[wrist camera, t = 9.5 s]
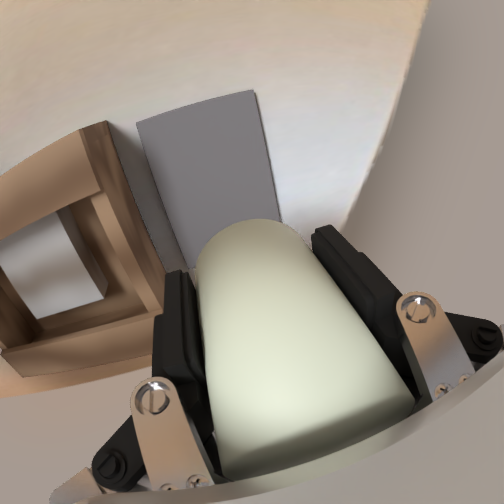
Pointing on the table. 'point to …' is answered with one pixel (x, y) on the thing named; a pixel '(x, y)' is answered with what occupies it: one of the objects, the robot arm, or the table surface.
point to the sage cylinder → (286, 354)
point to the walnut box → (75, 260)
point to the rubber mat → (209, 168)
